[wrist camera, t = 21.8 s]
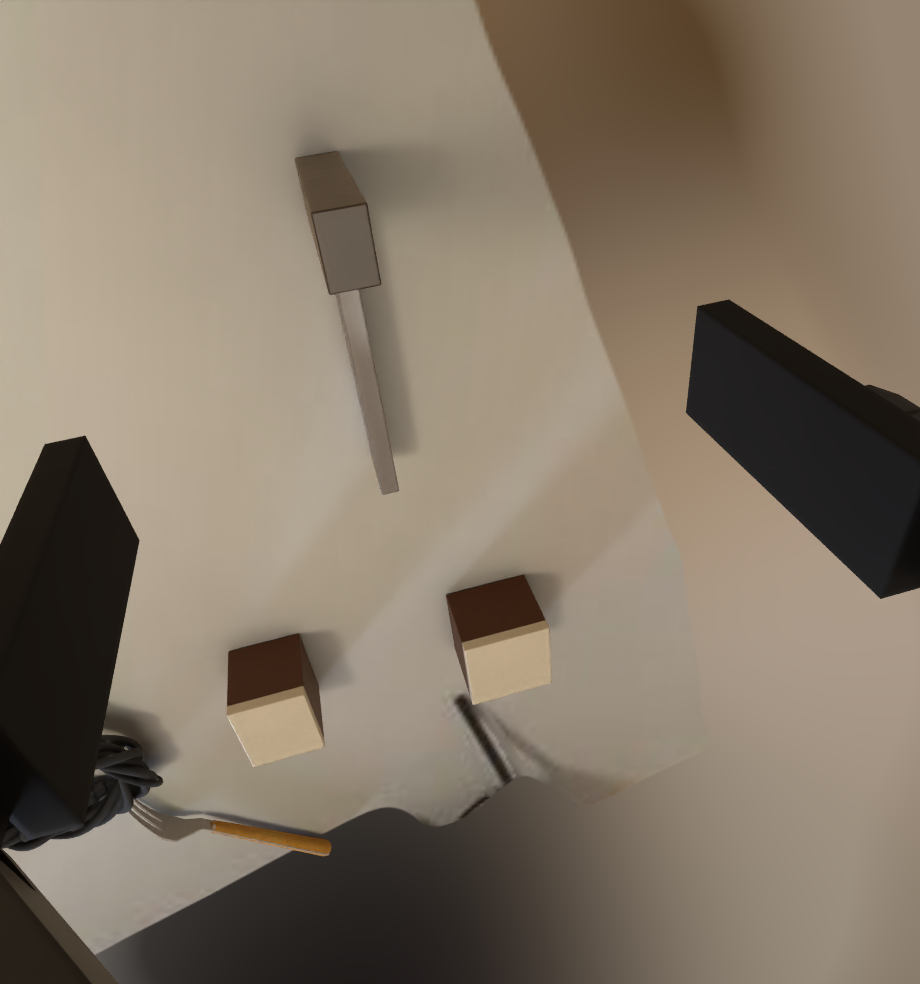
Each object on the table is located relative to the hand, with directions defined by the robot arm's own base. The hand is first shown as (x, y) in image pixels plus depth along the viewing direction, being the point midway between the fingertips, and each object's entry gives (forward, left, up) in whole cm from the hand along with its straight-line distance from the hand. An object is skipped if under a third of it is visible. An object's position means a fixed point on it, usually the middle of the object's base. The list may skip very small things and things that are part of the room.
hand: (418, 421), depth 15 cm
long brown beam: (0, +7, -23) cm, 24 cm away
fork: (+19, +49, -23) cm, 57 cm away
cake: (-6, +32, -23) cm, 39 cm away
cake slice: (+11, +32, -23) cm, 40 cm away
